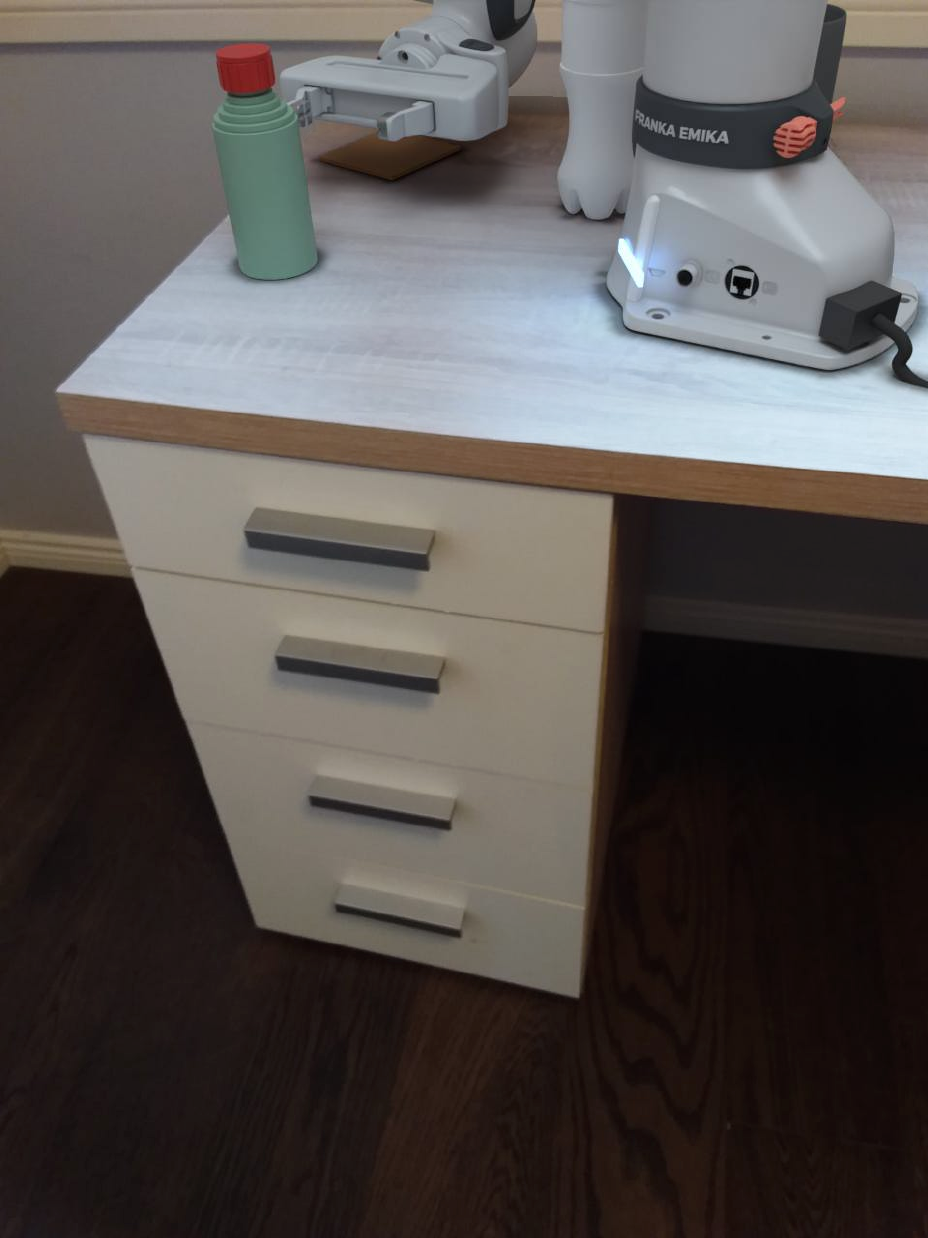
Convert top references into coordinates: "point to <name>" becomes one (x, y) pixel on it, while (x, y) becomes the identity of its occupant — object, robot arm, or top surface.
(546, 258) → the top surface
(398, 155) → the mat
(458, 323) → the top surface
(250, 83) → the cap
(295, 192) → the bottle
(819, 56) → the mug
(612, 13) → the water bottle
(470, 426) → the top surface
